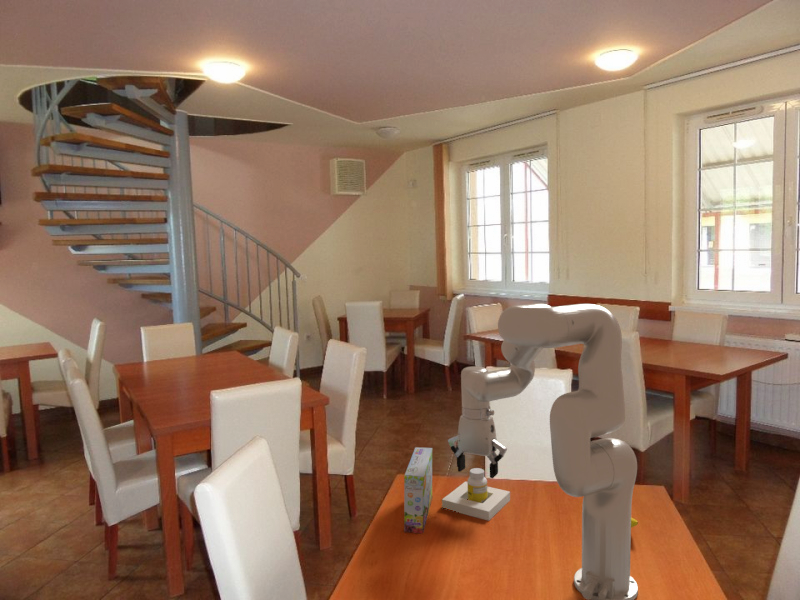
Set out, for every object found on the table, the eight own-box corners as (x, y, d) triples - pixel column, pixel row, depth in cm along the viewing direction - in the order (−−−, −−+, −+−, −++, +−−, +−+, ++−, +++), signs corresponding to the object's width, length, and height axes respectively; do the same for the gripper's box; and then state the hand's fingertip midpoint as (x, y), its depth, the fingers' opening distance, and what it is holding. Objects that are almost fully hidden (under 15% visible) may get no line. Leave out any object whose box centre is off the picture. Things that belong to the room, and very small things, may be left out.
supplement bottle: (467, 500, 163) (467, 466, 162) (487, 500, 163) (486, 466, 162) (468, 509, 158) (467, 474, 157) (488, 509, 157) (487, 474, 156)
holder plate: (489, 520, 151) (488, 511, 151) (442, 508, 158) (442, 499, 158) (510, 500, 162) (510, 491, 162) (465, 489, 170) (465, 481, 170)
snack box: (425, 534, 145) (424, 476, 143) (403, 533, 146) (402, 475, 144) (433, 497, 166) (433, 446, 164) (414, 496, 166) (413, 445, 165)
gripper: (511, 412, 156) (512, 474, 157) (454, 405, 166) (455, 463, 167) (499, 420, 150) (500, 484, 151) (441, 411, 159) (443, 472, 161)
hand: (477, 473), depth 159 cm, fingers open, 9 cm apart
